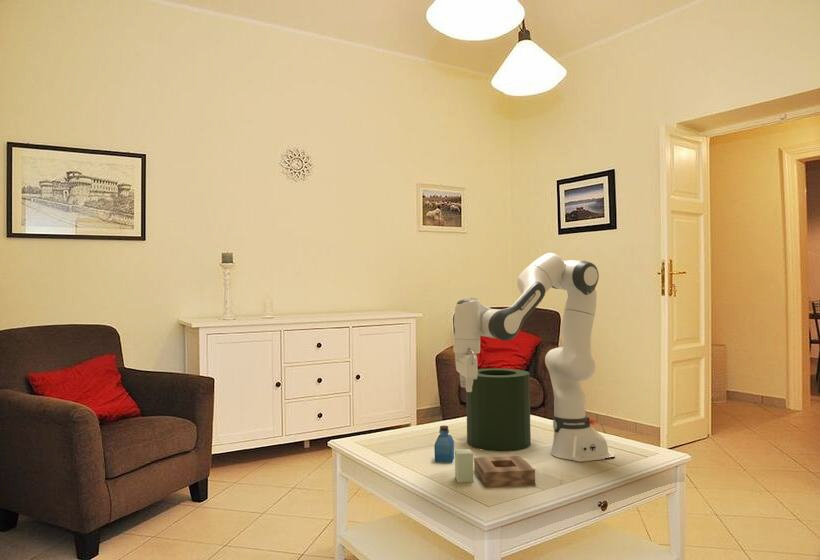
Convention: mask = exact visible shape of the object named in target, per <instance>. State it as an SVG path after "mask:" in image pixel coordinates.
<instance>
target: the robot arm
mask: <svg viewBox="0 0 820 560" xmlns="http://www.w3.org/2000/svg"><path fill="white" fill-rule="evenodd" d="M599 276H600V275H599V270H598V267H597V266H596V265H595V264H594V263H593V262H591V261H586V260H577V259H569V260H563V258H562V257H561V256H559V254H556V253H554V252H546V253H545V254H543V255H541V256H539V257H538V258H537V259H535V260H534V261H532V262H531V263H529V265H527V266H526V267H525V268H524V269H523V270H522V271H521V272H520V273H519V275H518V277H517V282H516V283H517V288H518V290H519V291H520V293H521V295H520V296H519V297H518V298H517V299H516V300H515V301H514V303H513V304H511V306H509V307H506V308H502V309H500V308H499V309H498V308H491V307H489V306H487V305H485V304H484V303H482V302H481V301H480V300H479V299H478V298H475V297H471V298H463V299H460V300H458V301H457V302H456V303H455V307H454V315H453V316H454V317H453V327H454V334H453V346H452V347H453V348H452V349H453V353H454V359H455V361H454V363H455V369H456V372H458V373H459V380H460V381H459V382H460V387H461V388H465V391H467V392H472V385H473V379H477V377H478V368H479V367H478V363H479V362H478V357H477V354H480V353H481V337H487V338H491V339H497V340H501V341H505V342H507V341H511V340H513V339H515V337H517V336H518V334H519V332H520V331H521V328H522V327H523V324H524V323H525V321H526V319H527V318H528V317H529V316H530V315H531V314H532V312H534V310H535V309H536V308H537V307H538V306H539V305H540V303H541V302H542V301H543V299H544V297H545V295H546V293H547V292H548V291H549V290H550V289H551V288H552V289H554V290H555V289H556V290H563V291H566V292H567V299H566V301H565V306H564V310H563V315H562V319H561V324H560V329H559V330H560V333H561V337H562V346H559V347H555V348H552V349H550V350H549V351H548V352H547V353H546V355H545V358H544V363H545V366H546V368H547V370H548V373H549V377H550V381H551V386H552V390H553V391H552V392H553V409H554V411H553V413H554V414H553V417H552V418H553V420H552V428H553V431H554V432H553V441H552V446H551V450H550V454H551V455H552V456H553V457H555V458H559V459H563V460H570V461H575V462H579V463H580V462H589V461H600V460H606V459H605V458H607V457H609V456H611V455H610V454H609V452H608V449H609V448H608V442H607V440H606V438H605V437H604V436H603V435H602V434H601V433H599V432H598V431H597V430H596V429H594V428H593V427H592V426H593V425H595V424H596V419H594V418H592V417H591V418H590V417H588V416H586V395H585V393H584V391H583V389H582V386H581V383H580V382H581V381H586V380H589V379H590V378H591V377H593V374H594V373H595V370H596V362H595V361H594V358H593V356H592V345H591V344H592V343H591V342H592V341H591V340H592V339H591V338H592V331H593V326H594V321H595V315H596V311H597V290H596V287H597V285H598V282H599V279H600V277H599ZM591 425H592V426H591Z"/></svg>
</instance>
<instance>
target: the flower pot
mask: <svg viewBox="0 0 820 560" xmlns="http://www.w3.org/2000/svg"><path fill="white" fill-rule="evenodd" d="M530 381H531V380H530V372H529V371H526V370H523V369H515V368H514V369H513V368H479V369H478V377H477V379H473V385H472V392H467V391H466V390H465V391H466V392H465V393H466V394H465V395H466V397H465V398H466V403H465V404H466V443H467V445H468V446H469V447H471V446H472V447H471V448H473V447H474V449H477V450H480V449H482V450H481V451H485V452H486V451H488V452H499V453H500V452H501V453H502V452H516V451H522V450H525V449H528V448H529V447H531V444H532V443H531V442H532V441H531V433H532V432H531V395H530V394H531V393H530V392H531V389H530V388H531V387H530V385H531V384H530V383H531V382H530Z"/></svg>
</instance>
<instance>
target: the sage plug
mask: <svg viewBox="0 0 820 560" xmlns="http://www.w3.org/2000/svg"><path fill="white" fill-rule="evenodd" d="M454 470H455V471H454V475H455V477H454V478H455V479H456V481H457V483H473V482H474V452H473V451H472V450H471V448H465V449H463V448H462V449H458V448H457V449H454Z"/></svg>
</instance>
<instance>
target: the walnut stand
mask: <svg viewBox="0 0 820 560" xmlns="http://www.w3.org/2000/svg"><path fill="white" fill-rule="evenodd" d="M473 472H475V474H476V476H477V477H478V479H479V480H480V482H481V483H482V485H483V486H484V487H485V488H493V487H494V488H495V487H496V488H497V487H514V486H515V487H516V486H535V485H536V469H534V467H532V466H531V465H530V464H529V462H528V461H526V460H525V459H524V457H523V456H521V455H502V456H480V457H473Z"/></svg>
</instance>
